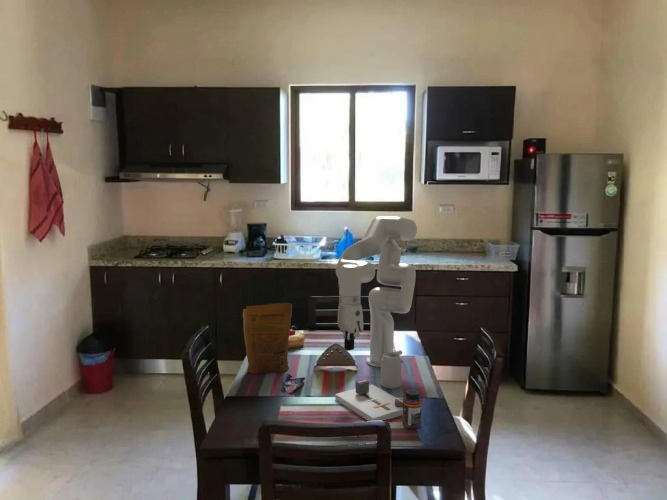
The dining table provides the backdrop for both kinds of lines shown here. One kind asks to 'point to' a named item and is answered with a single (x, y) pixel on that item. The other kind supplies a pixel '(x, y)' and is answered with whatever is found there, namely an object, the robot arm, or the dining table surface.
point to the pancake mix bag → (267, 337)
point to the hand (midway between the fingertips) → (349, 349)
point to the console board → (372, 403)
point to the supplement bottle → (412, 409)
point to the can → (391, 370)
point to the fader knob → (362, 387)
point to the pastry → (295, 339)
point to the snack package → (291, 382)
